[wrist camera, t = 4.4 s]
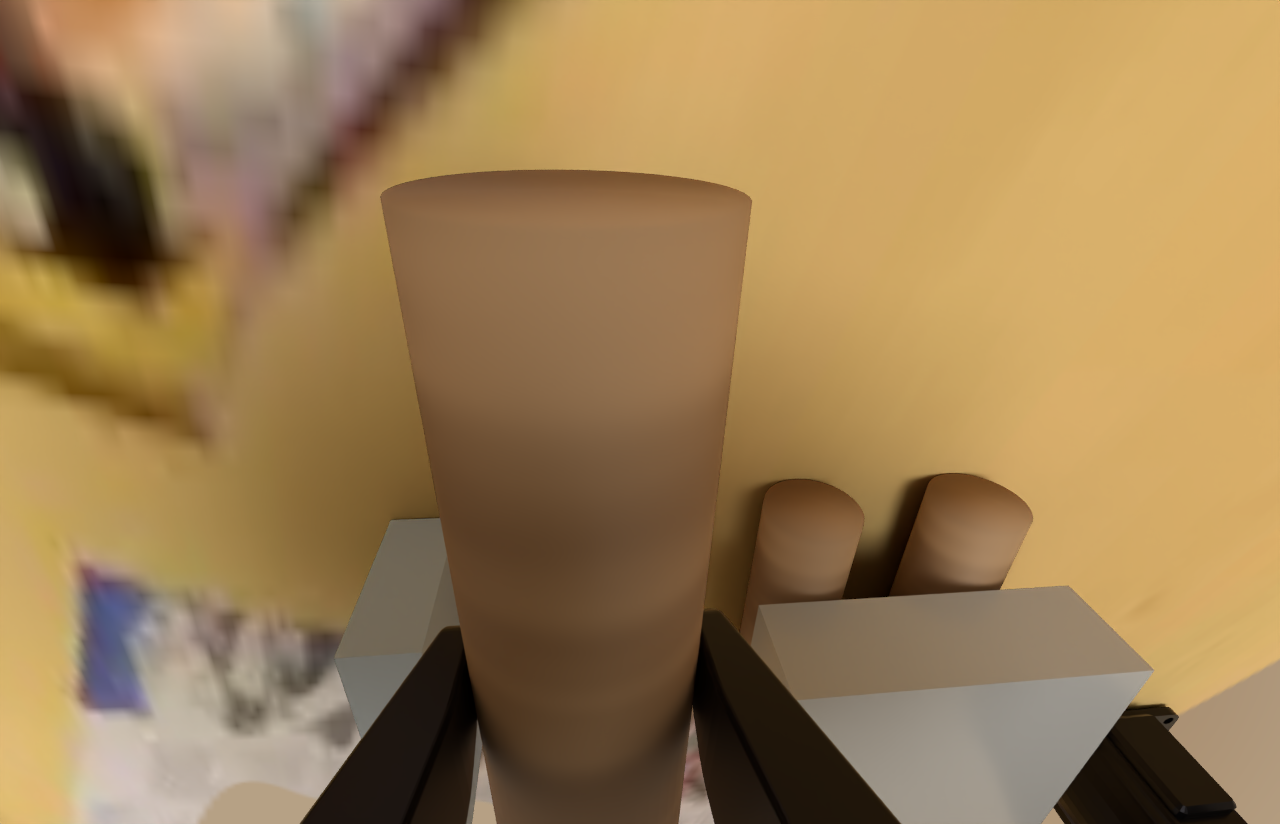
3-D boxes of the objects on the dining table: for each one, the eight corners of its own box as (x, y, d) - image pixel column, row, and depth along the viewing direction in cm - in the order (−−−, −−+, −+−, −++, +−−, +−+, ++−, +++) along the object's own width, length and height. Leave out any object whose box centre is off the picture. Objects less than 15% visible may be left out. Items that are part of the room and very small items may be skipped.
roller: (659, 777, 12) (684, 963, 10) (517, 790, 12) (502, 989, 9) (708, 172, 6) (807, 230, 4) (427, 168, 6) (316, 226, 3)
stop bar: (486, 711, 23) (467, 856, 19) (434, 715, 23) (403, 863, 18) (456, 517, 18) (421, 652, 14) (390, 520, 18) (333, 658, 13)
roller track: (900, 691, 25) (938, 760, 23) (523, 723, 23) (518, 801, 21) (991, 472, 20) (1056, 530, 17) (499, 490, 18) (487, 559, 15)
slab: (983, 737, 22) (1039, 824, 19) (727, 761, 20) (751, 858, 18) (1068, 585, 18) (1154, 670, 15) (758, 605, 17) (794, 700, 14)
